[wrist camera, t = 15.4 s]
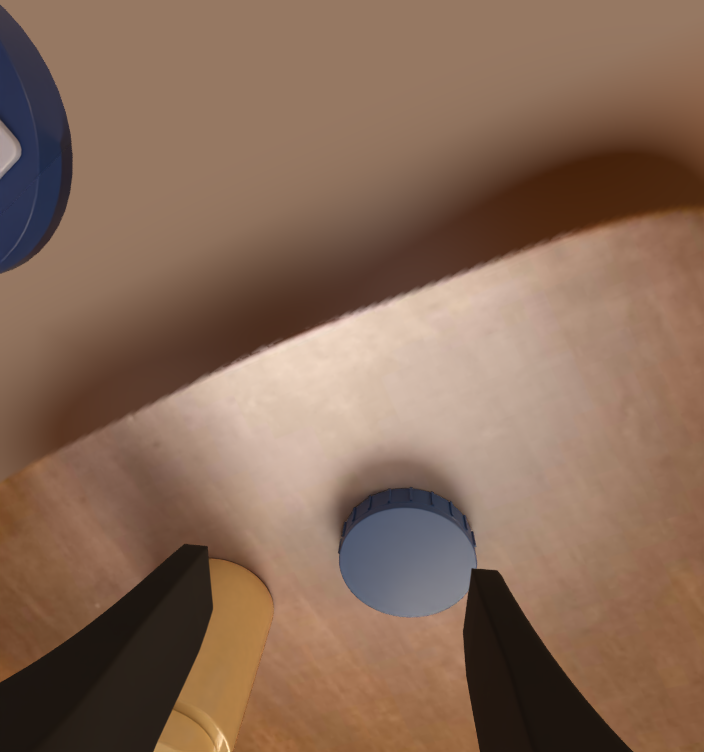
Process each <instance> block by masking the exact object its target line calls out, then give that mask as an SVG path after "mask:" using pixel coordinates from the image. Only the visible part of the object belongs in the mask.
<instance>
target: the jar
mask: <svg viewBox="0 0 704 752" xmlns="http://www.w3.org/2000/svg"><path fill="white" fill-rule="evenodd" d="M209 568H210V578H211V589H212V599H213V612H212V615H211V618H210V621H209V624H208V628H207V631H206V634H205V637H204V640H203V642H202V645H201V648H200V651H199V653H198V655H197V658H196V660H195V662H194V664H193V666H192V669H191V671H190V673H189V675H188V677H187V680H186V682H185V684H184V686H183V688H182V690H181V692H180V695H179V697H178V699H177V701H176V703H175V705H174V708H173V710H172V712H171V714H170V716H169V718H168V720H167V723H166V725H165V727H164V729H163V731H162V733H161V736H160V738H159V740H158V742H157V744H156V747H155V749H154V752H234V748H235V745H236V742H237V738H238V735H239V731H240V728H241V725H242V721H243V718H244V715H245V711H246V708H247V704H248V701H249V698H250V694H251V691H252V688H253V684H254V681H255V677H256V674H257V671H258V667H259V664H260V661H261V657H262V654H263V650H264V647H265V644H266V640H267V637H268V634H269V630H270V627H271V623H272V620H273V615H274V606H273V601H272V598H271V595H270V593H269V591H268V589H267V588H266V586H265V585H264V583H263V582H262V581H261V580H260V579H259V578H258V577H257V576H256V575H254V574H253V573H252V572H250V571H249V570H248V569H246V568H244V567H242V566H240V565H238V564H235V563H233V562H229V561H226V560H221V559H213V558H209Z"/></svg>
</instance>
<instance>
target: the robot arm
mask: <svg viewBox="0 0 704 752" xmlns="http://www.w3.org/2000/svg"><path fill="white" fill-rule="evenodd" d="M21 151H22V149H21V146H20V143H19V142H18V140H17V138H16V137H15V136H14V135H13V134H12V133H11V131H10V130H9V129H8V128H7V127H6V126H5V124H4V123H3V122H2V121H1V120H0V179H1V178H2V177H3V176H4V174H5V173H6V172H7V171H8V170H9V169H10V168H11V167H12V166H13V165H14V164H15V163H16V162H17V161H18V160H19V158H20V156H21ZM212 612H213V599H212V589H211V578H210V568H209V557H208V547H207V546H200V545H188V544H184V545H183V546H181V547H180V548H179V549H178V550H177V551H176V552H174V553H173V554H172V555H171V556H170V557H169V558H167V559H166V560H165V561H164V562H163V563H162V564H161V565H160V566H158V567H157V568H156V569H155V570H154V571H153V572H152V573H151V574H149V575H148V576H147V577H146V578H145V579H144V580H143V581H141V582H140V583H139V584H138V585H137V586H136V587H134V588H133V589H132V590H131V591H130V592H128V593H127V594H126V595H125V596H124V597H123V598H121V599H120V600H119V601H118V602H117V603H115V604H114V605H113V606H112V607H110V608H109V609H108V610H107V611H105V612H104V613H103V614H102V615H100V616H99V617H98V618H96V619H95V620H94V621H93V622H91V623H90V624H89V625H87V626H86V627H85V628H84V629H82V630H81V631H80V632H78V633H77V634H75V635H74V636H73V637H71V638H70V639H68V640H67V641H66V642H64V643H63V644H61V645H60V646H58V647H57V648H55V649H54V650H52V651H51V652H49V653H48V654H46V655H45V656H43V657H42V658H40V659H39V660H37V661H36V662H34V663H32V664H31V665H29V666H28V667H26V668H24V669H22V670H21V671H19V672H17V673H16V674H14V675H12V676H11V677H9V678H7V679H6V680H4V681H2V682H1V683H0V752H154V749H155V747H156V744H157V742H158V740H159V738H160V736H161V733H162V731H163V729H164V727H165V725H166V723H167V720H168V718H169V716H170V714H171V712H172V710H173V708H174V705H175V703H176V701H177V699H178V697H179V695H180V692H181V690H182V688H183V686H184V684H185V682H186V680H187V677H188V675H189V673H190V671H191V669H192V666H193V664H194V662H195V660H196V658H197V655H198V653H199V651H200V648H201V645H202V642H203V640H204V637H205V634H206V631H207V628H208V624H209V621H210V618H211V615H212ZM463 639H464V653H465V666H466V677H467V683H468V688H469V694H470V699H471V705H472V711H473V716H474V722H475V727H476V732H477V738H478V743H479V749H480V752H633V751H632V750H631V749H630V748H629V747H628V746H627V745H626V744H625V743H624V742H623V741H622V740H621V739H620V738H619V736H618V735H617V734H616V733H615V732H614V731H613V730H612V729H611V728H610V727H609V726H608V724H607V723H606V722H605V721H604V720H603V719H602V718H601V717H600V715H599V714H598V713H597V712H596V711H595V710H594V708H593V707H592V706H591V705H590V704H589V703H588V701H587V700H586V699H585V698H584V697H583V695H582V694H581V693H580V692H579V690H578V689H577V688H576V687H575V685H574V684H573V683H572V682H571V680H570V679H569V678H568V676H567V675H566V674H565V672H564V671H563V670H562V668H561V667H560V666H559V664H558V663H557V662H556V660H555V659H554V658H553V656H552V655H551V653H550V652H549V651H548V649H547V648H546V646H545V645H544V643H543V642H542V640H541V639H540V637H539V636H538V635H537V633H536V632H535V630H534V629H533V627H532V626H531V624H530V623H529V621H528V619H527V618H526V616H525V615H524V613H523V611H522V610H521V608H520V607H519V605H518V603H517V602H516V600H515V598H514V597H513V595H512V593H511V592H510V590H509V588H508V586H507V585H506V583H505V581H504V579H503V577H502V575H501V574H500V573H499V572H498V571H497V570H486V569H474V568H472V569H471V577H470V584H469V591H468V599H467V606H466V614H465V621H464V629H463Z"/></svg>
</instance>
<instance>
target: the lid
mask: <svg viewBox="0 0 704 752" xmlns="http://www.w3.org/2000/svg"><path fill="white" fill-rule="evenodd" d="M474 547H476V543H475V538H474V533H473V531H471V529H470V527H469V524H468V522H467V519H466V516H465V515H462V513H461V512H460V511H459V510H458V509H457V508H456V507H455V506H454V505H453V504H452V502H451V501H450V502H448V501H447V500H446V499H444V498H442V497H440V496H438V495H436V494H434V492H432V491H431V492H427V491H423V490H418V489H412V487H410V489H409V488H401V489H392V490H391V489H388V490H387V491H384V492H380V493H377V494H375V495H373V496H371V495H370V496H369V498H368V499H366V500H365V501H363V502H362V503H361V504H360V505H358V506H357V507H354V508H353V512H352V513H351V515H350V516H349V518H348V520H347V522H344V525H343V531H342V538H341V539H340V545H339V551H338V554H339V566H340V571H341V574H342V577H343V579H344V581H345V583H346V585H347V586H348V588H349V589H350V590H351V592H352V593H353V594H354V595H355V596H356V597H357V598H358V599H359V600H361V601H362V602H363V603H365V604H366V605H368V606H369V607H371V608H373V609H375V610H377V611H380V612H383V613H385V614H389V615H393V616H399V617H422V616H428V615H432V614H436V613H439V612H441V611H444V610H446V609H448V608H450V607H451V606H453V605H454V604H456V603H457V602H458V601H459V600H460V599H462V598H463V596H464V595H465V594H466V593H467V592H468V590H469V584H470V577H471V569H472V568H474V569H476V568H477V559H476V553H475V548H474Z"/></svg>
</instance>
